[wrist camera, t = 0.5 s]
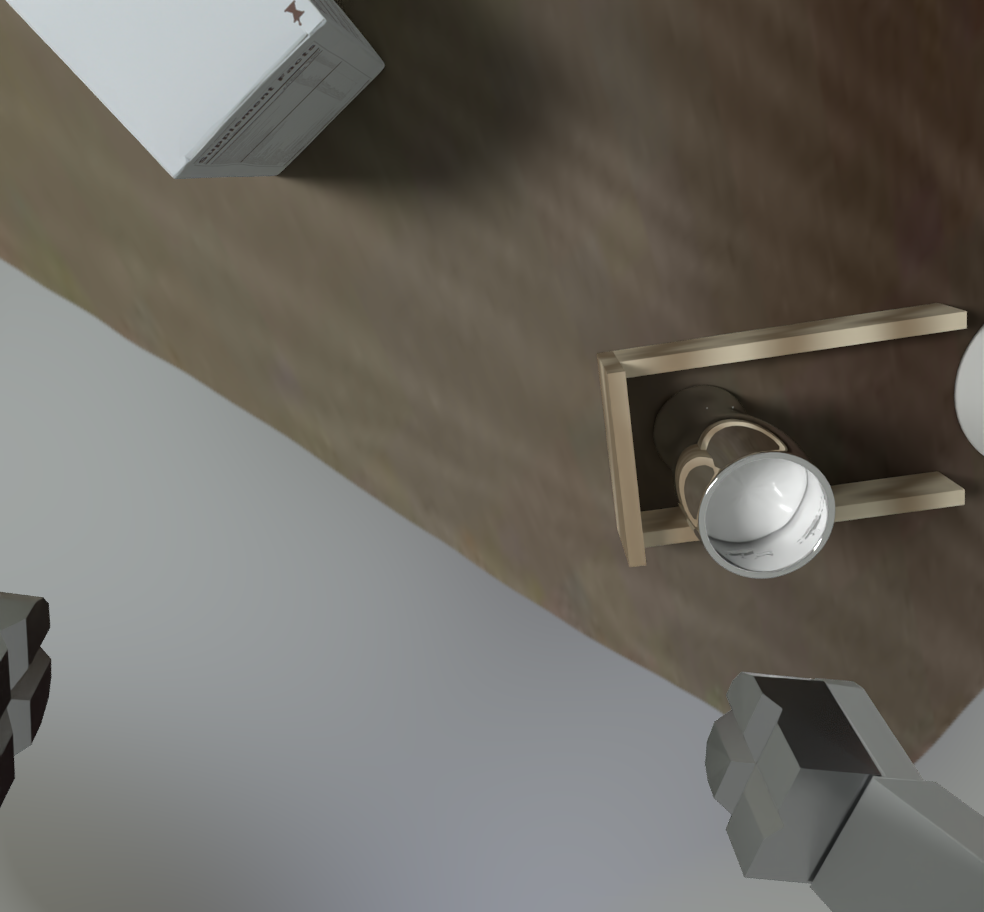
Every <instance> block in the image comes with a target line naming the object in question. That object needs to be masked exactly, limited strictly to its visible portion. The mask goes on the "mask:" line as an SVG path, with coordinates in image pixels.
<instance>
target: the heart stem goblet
mask: <svg viewBox="0 0 984 912" xmlns="http://www.w3.org/2000/svg"><path fill="white" fill-rule="evenodd" d="M653 438H654V444H655V447H656V450H657V452H658V454H659V456H660V458H661V459H662V460H663V462H664V463H665V464H666V465H667V466H668V467H670V468H671V469H672V479H673V486H674V491H675V496H676V500H677V502H678V505H679V507H680V510H681V512H682V514H683V516H684V518H685V520H686V522H687V523H688V525H689V527H690V528H691V530H692V531H693V533H694V534H695V535H696V537H697V538H698V539H699V541H700V542H701V543H702V544H703V546H704V547H705V548H706V550H707V552H708V553H709V555H710V556H711V557H712V558H713V559H714V560H715V561H716V562H717V563H718V564H719V565H721V566H722V567H723V568H725V569H727V570H728V571H730V572H732V573H735V574H737V575H740V576H744V577H749V578H758V579H764V578H773V577H778V576H782V575H785V574H788V573H791V572H793V571H795V570H797V569H799V568H800V567H802V566H804V565H805V564H806V563H808V562H809V561H810V560H811V559H813V558H814V557H815V556H816V555H817V554H818V553H819V551H820V550H821V549H822V548H823V546H824V545H825V543H826V542H827V540H828V538H829V536H830V534H831V531H832V528H833V525H834V520H835V499H834V495H833V492H832V489H831V486H830V484H829V482H828V481H827V479H826V478H825V476H824V475H823V474H822V472H821V471H820V470H819V469H818V468H817V467H816V466H815V464H814V463H813V462H812V460H811V459H810V458H809V456H808V455H807V454H806V453H805V452H804V451H803V449H802V448H801V447H800V446H799V445H798V444H797V443H796V442H795V441H794V440H793V439H792V438H790V437H789V436H788V435H786V434H785V433H784V432H783V431H781V430H780V429H779V428H777V427H775V426H774V425H772V424H770V423H767V422H765V421H763V420H761V419H759V418H756V417H753V416H750V415H747V413H746V411H745V409H744V407H743V405H742V404H741V403H740V401H739V400H738V399H737V398H736V397H735V396H734V395H732V394H731V393H730V392H728V391H726V390H724V389H722V388H719V387H715V386H709V385H699V386H693V387H689V388H686V389H684V390H682V391H680V392H678V393H676V394H675V395H673V396H672V397H671V398H670V399H669V400H668V401H667V402H666V403H665V404H664V405H663V406H662V408H661V409H660V411H659V413H658V415H657V417H656V420H655V424H654V430H653Z"/></svg>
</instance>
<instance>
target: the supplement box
mask: <svg viewBox="0 0 984 912" xmlns="http://www.w3.org/2000/svg"><path fill="white" fill-rule="evenodd" d="M6 1H7V2H8V3H9V5H10V6H11V7H12V8H13V9H14V10H15V11H16V12H17V13H18V14H19V15H20V16H21V17H22V18H23V19H24V20H25V21H26V23H27V24H28V25H29V26H30V27H31V28H32V29H33V30H34V31H35V32H36V33H37V34H38V35H39V36H40V37H41V38H42V39H43V40H44V42H45V43H46V44H47V45H48V46H49V47H50V48H51V49H52V50H53V51H54V52H55V53H56V54H57V55H58V56H59V57H60V58H61V59H62V60H63V61H64V62H65V63H66V64H67V66H68V67H69V68H70V69H71V70H72V71H73V72H74V73H75V74H76V75H77V76H78V77H79V78H80V79H81V80H82V81H83V82H84V84H85V85H86V86H87V87H88V88H89V89H90V90H91V91H92V92H93V93H94V94H95V95H96V96H97V97H98V98H99V99H100V101H101V102H102V103H103V104H104V105H105V106H106V107H107V108H108V109H109V110H110V111H111V112H112V113H113V114H114V115H115V116H116V118H117V119H118V120H119V121H120V122H121V123H122V124H123V125H124V126H125V127H126V128H127V129H128V130H129V131H130V132H131V133H132V134H133V135H134V137H135V138H136V139H137V140H138V141H139V142H140V143H141V144H142V145H143V146H144V147H145V148H146V149H147V150H148V152H149V153H150V154H151V155H152V156H153V157H154V158H155V159H156V160H157V161H158V162H159V163H160V165H161V166H162V167H163V168H164V169H165V170H166V171H167V172H168V173H169V174H170V175H171V176H172V177H173V178H174V179H186V178H212V177H254V176H276V175H278V174H280V173H281V172H282V171H283V170H284V169H285V168H286V167H287V166H288V165H289V164H290V163H291V162H292V161H293V160H294V159H295V158H296V157H297V156H298V155H299V154H300V153H301V152H302V151H303V150H304V149H305V148H306V147H307V146H308V145H309V144H310V143H311V142H312V141H313V140H314V139H315V138H316V137H317V136H318V135H319V134H320V133H321V132H322V131H323V130H324V129H325V128H326V127H327V125H328V124H329V123H330V122H331V121H332V120H333V119H334V118H335V117H336V116H337V115H338V114H339V113H340V112H341V111H342V110H343V109H344V108H345V107H346V106H347V105H348V104H349V103H350V102H351V101H352V100H353V99H354V98H355V97H356V96H357V95H358V94H359V93H360V92H361V91H362V90H363V89H364V88H365V87H366V86H367V85H368V84H369V83H370V82H371V81H372V80H373V79H374V78H375V77H376V76H377V75H378V74H379V73H380V72H381V71H382V70H383V68H384V67H385V65H384V62H383V61H382V59H381V58H380V57H379V55H378V54H377V53H376V51H375V50H374V49H373V48H372V46H371V45H370V44H369V42H368V41H367V40H366V39H365V37H364V36H363V35H362V34H361V32H360V31H359V30H358V29H357V28H356V26H355V25H354V24H353V23H352V21H351V20H350V19H349V18H348V17H347V15H346V14H345V13H344V12H343V11H342V9H341V8H340V7H339V6H338V4H337V3H336V2H335V1H334V0H6Z"/></svg>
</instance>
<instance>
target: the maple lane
mask: <svg viewBox="0 0 984 912" xmlns="http://www.w3.org/2000/svg"><path fill="white" fill-rule="evenodd" d="M966 328H967V311H964V310H961V309H958V308H954V307H951V306H947V305H944V304H940V303H933V304H927V305H920V306H913V307H906V308H900V309H893V310H886V311H879V312H872V313H866V314H859V315H852V316H845V317H839V318H832V319H825V320H818V321H812V322H805V323H798V324H791V325H785V326H778V327H771V328H764V329H757V330H751V331H744V332H737V333H730V334H724V335H717V336H710V337H703V338H697V339H690V340H683V341H676V342H670V343H663V344H656V345H649V346H642V347H636V348H629V349H622V350H615V351H609V352H602V353H597V361H598V369H599V378H600V386H601V395H602V403H603V412H604V420H605V429H606V437H607V445H608V454H609V462H610V471H611V479H612V488H613V496H614V505H615V513H616V522H617V529H618V532H619V536H620V539H621V542H622V545H623V548H624V551H625V554H626V557H627V560H628V564H629V567H635V566H643V565H646V558H645V549H644V548H645V547H653V546H660V545H668V544H675V543H683V542H690V541H697V540H699V539H698V538H697V537H696V535H695V534H694V533H693V531H692V530H691V528H690V527H689V525H688V523H687V522H686V520H685V518H684V516H683V514H682V512H681V510H680V507H672V508H664V509H657V510H650V511H643V512H640V503H639V494H638V484H637V475H636V466H635V457H634V448H633V438H632V429H631V420H630V411H629V402H628V393H627V383H626V378H630V377H637V376H644V375H650V374H657V373H664V372H671V371H678V370H685V369H691V368H698V367H705V366H712V365H719V364H726V363H733V362H739V361H746V360H753V359H760V358H767V357H774V356H781V355H787V354H794V353H801V352H808V351H815V350H822V349H829V348H835V347H842V346H849V345H856V344H863V343H870V342H877V341H883V340H890V339H897V338H904V337H911V336H918V335H925V334H931V333H938V332H945V331H952V330H959V329H966ZM831 489H832V492H833V495H834V499H835V520H834V522H839V521H846V520H854V519H861V518H869V517H876V516H884V515H891V514H898V513H906V512H913V511H921V510H928V509H936V508H943V507H951V506H958V505H965V489H963V488H962V487H960V486H959V485H957V484H956V483H954V482H953V481H952V480H950V479H949V478H947V477H946V476H944V475H943V474H941V473H940V472H938V471H935V472H928V473H920V474H913V475H906V476H898V477H891V478H884V479H877V480H869V481H862V482H855V483H847V484H840V485H833V486H831Z"/></svg>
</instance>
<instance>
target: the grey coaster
mask: <svg viewBox="0 0 984 912" xmlns="http://www.w3.org/2000/svg"><path fill="white" fill-rule="evenodd" d="M954 404H955V411H956V415H957V419H958V422H959V424H960V427H961V429H962V431H963V433H964V435H965V436H966V438H967V439H968V441H969V442H970V443H971V445H972V446H973V447H974V448H975V449H976V450H977V451H978V452H979V453H980V454H982V455H983V456H984V324H983V326H982V327H981V328H980V329H979V330H978V332H977V333H976V334H975V335H974V337H973V339H972V340H971V342H970V343H969V345H968V346H967V348H966V350H965V352H964V354H963V357H962V359H961V362H960V364H959V367H958V370H957V375H956V380H955V387H954Z"/></svg>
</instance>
